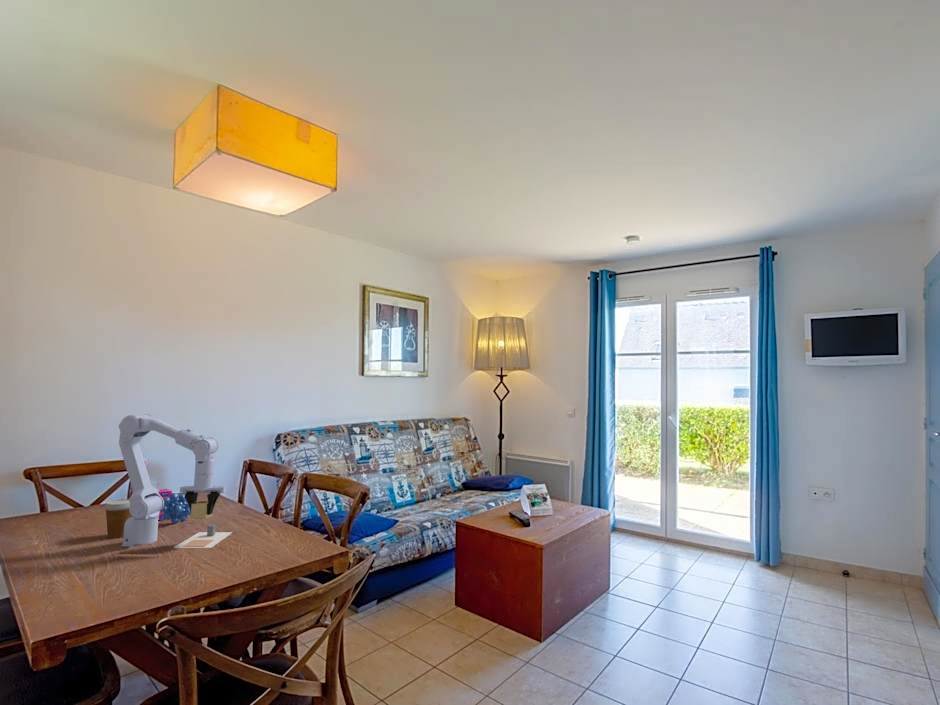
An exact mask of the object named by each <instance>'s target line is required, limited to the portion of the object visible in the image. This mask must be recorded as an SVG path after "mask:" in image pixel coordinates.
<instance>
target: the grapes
mask: <svg viewBox="0 0 940 705" xmlns="http://www.w3.org/2000/svg"><path fill="white" fill-rule="evenodd" d="M185 494H186V493H180V494H178V493H176V492H172V494H171V495H170V498H169V497H165V498H163V500H164V504H165V505H164V506H163V508H162V510H160V511H161V512H163V513H164V514H163V518H164V519H165V520H166V521H169V520H170V523H172V524H178V523H179V522H186V521H187V520H188V516H191V513H190V508H189V505H188V502H187V500H186V499H185V497H184V495H185ZM165 520H164V521H165Z"/></svg>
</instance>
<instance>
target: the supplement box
mask: <svg viewBox="0 0 940 705" xmlns="http://www.w3.org/2000/svg"><path fill="white" fill-rule="evenodd" d="M157 490H158V493H159V495H160V496H161V497H162V498H165V497H169V498H170V495H171V494H172V493H173V490H170V489H167V488H162V489H157ZM164 505H165V504H164ZM163 514H164V513H163V512H161V511H160V513H159V519H158V520H160V521H165V520H164V518H163Z"/></svg>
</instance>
